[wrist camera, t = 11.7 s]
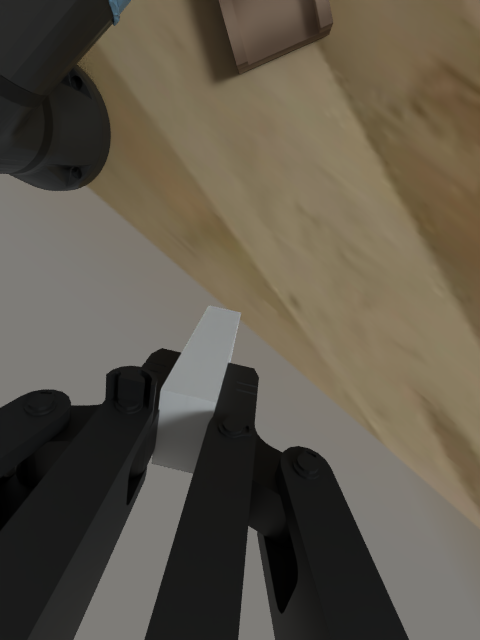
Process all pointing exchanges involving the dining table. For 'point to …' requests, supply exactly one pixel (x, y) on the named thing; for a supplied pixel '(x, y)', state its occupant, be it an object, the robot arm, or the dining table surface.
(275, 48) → the track
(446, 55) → the dining table surface
